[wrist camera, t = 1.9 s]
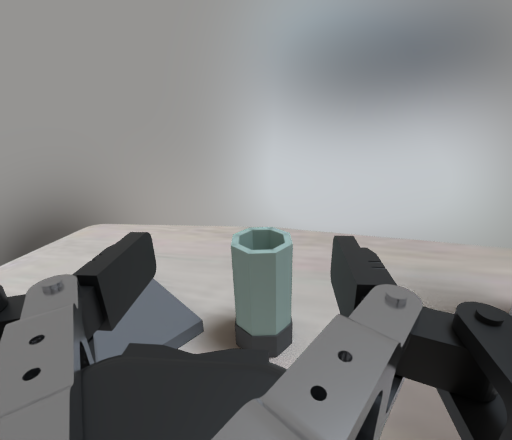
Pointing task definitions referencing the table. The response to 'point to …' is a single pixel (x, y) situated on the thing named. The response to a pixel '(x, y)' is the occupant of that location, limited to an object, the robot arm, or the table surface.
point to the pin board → (150, 323)
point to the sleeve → (262, 288)
